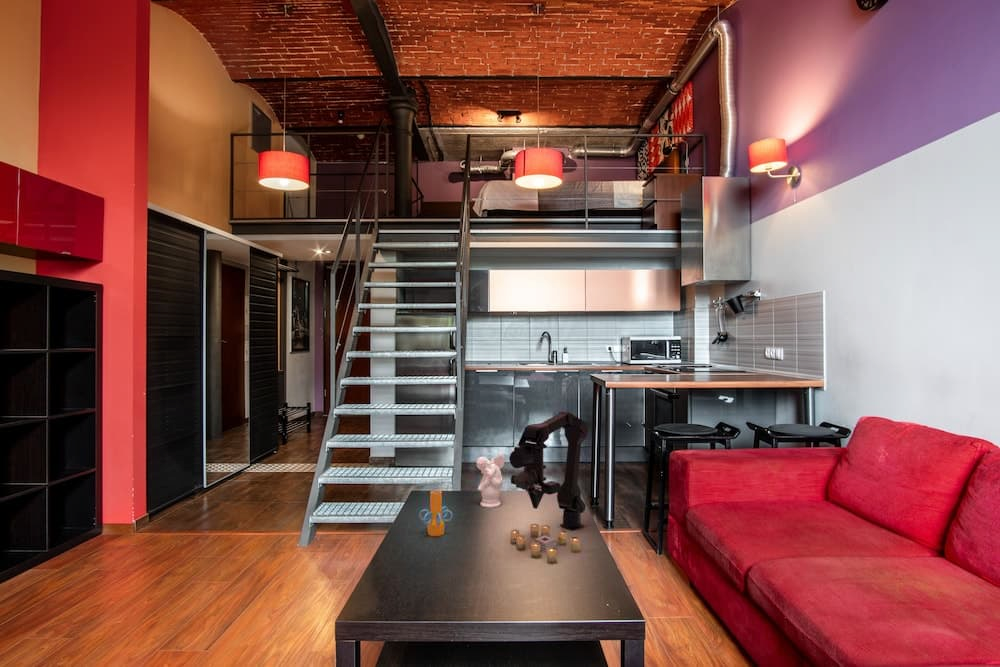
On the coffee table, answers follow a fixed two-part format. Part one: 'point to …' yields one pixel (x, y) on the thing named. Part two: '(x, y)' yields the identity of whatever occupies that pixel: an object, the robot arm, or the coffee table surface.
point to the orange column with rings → (436, 514)
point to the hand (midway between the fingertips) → (535, 508)
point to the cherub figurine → (490, 480)
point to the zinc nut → (546, 542)
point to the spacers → (535, 546)
